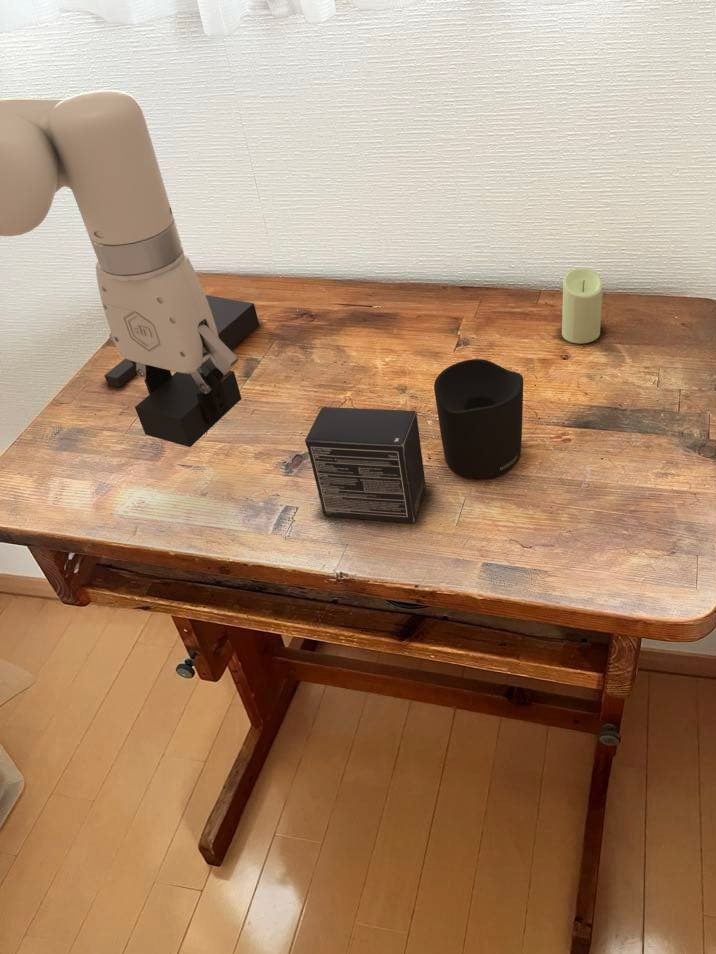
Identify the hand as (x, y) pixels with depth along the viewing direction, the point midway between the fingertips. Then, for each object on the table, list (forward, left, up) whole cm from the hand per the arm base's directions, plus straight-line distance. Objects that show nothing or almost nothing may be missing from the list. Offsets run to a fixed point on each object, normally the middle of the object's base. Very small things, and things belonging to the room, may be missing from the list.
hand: (192, 409), depth 87 cm
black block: (0, 0, -1) cm, 1 cm away
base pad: (+23, +23, -12) cm, 35 cm away
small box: (+5, -18, -12) cm, 22 cm away
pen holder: (+16, -26, -12) cm, 32 cm away
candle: (+44, -28, -12) cm, 53 cm away
